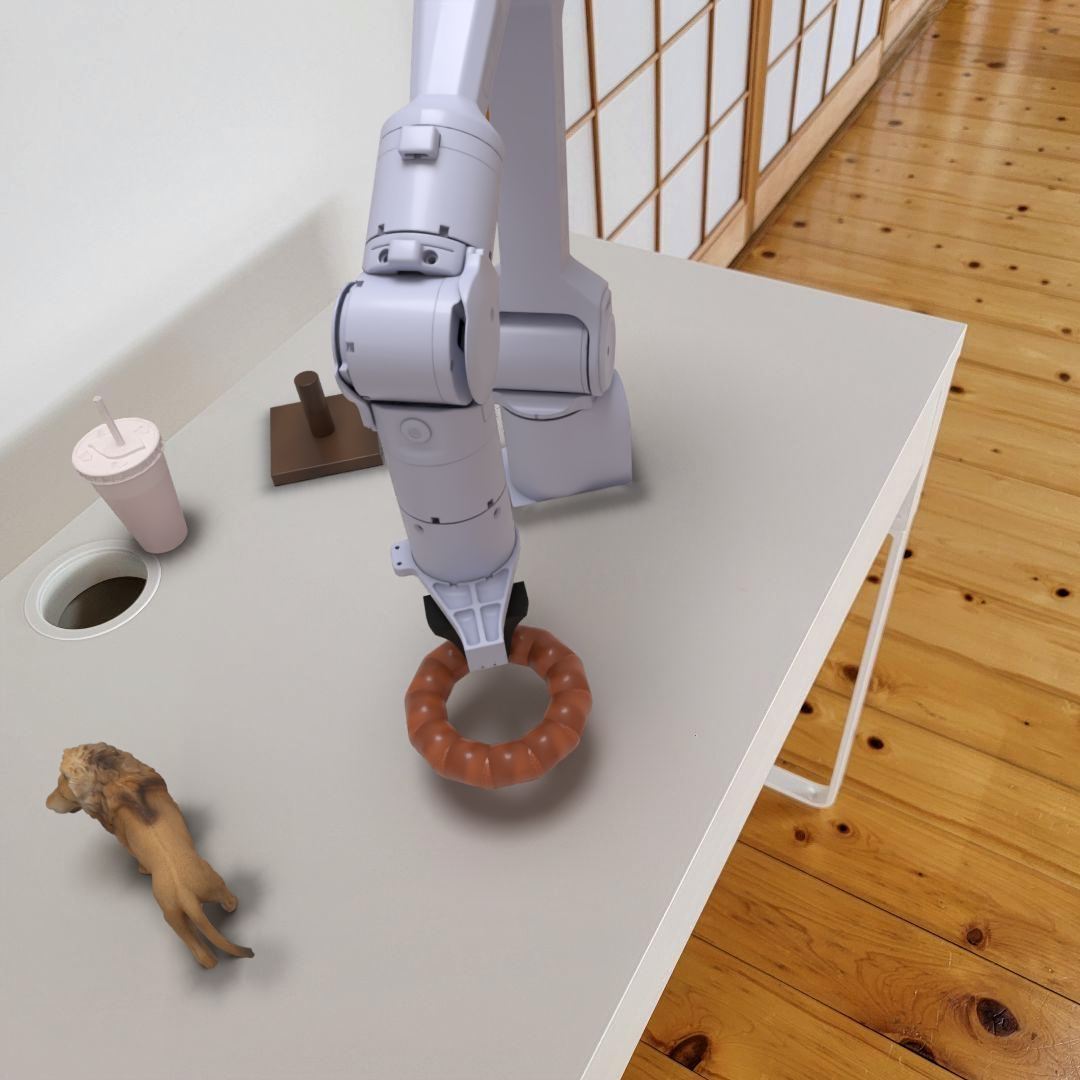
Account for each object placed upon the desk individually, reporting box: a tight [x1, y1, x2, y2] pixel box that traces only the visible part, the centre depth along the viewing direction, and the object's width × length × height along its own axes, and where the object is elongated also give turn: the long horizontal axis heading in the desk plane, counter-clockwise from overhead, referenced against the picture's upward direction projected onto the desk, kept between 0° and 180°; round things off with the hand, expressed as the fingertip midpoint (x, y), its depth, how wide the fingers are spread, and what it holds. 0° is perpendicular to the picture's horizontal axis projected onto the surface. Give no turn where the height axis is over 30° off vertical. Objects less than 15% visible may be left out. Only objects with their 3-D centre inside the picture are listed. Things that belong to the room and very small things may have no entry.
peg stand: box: [269, 370, 384, 486], centre depth 82 cm, size 9×9×7 cm
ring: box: [403, 623, 593, 791], centre depth 58 cm, size 11×11×2 cm
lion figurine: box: [45, 741, 256, 970], centre depth 55 cm, size 15×5×9 cm, turn 50°
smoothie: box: [71, 395, 189, 555], centre depth 74 cm, size 6×6×14 cm
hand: (486, 643), depth 61 cm, fingers closed on ring, 2 cm apart
